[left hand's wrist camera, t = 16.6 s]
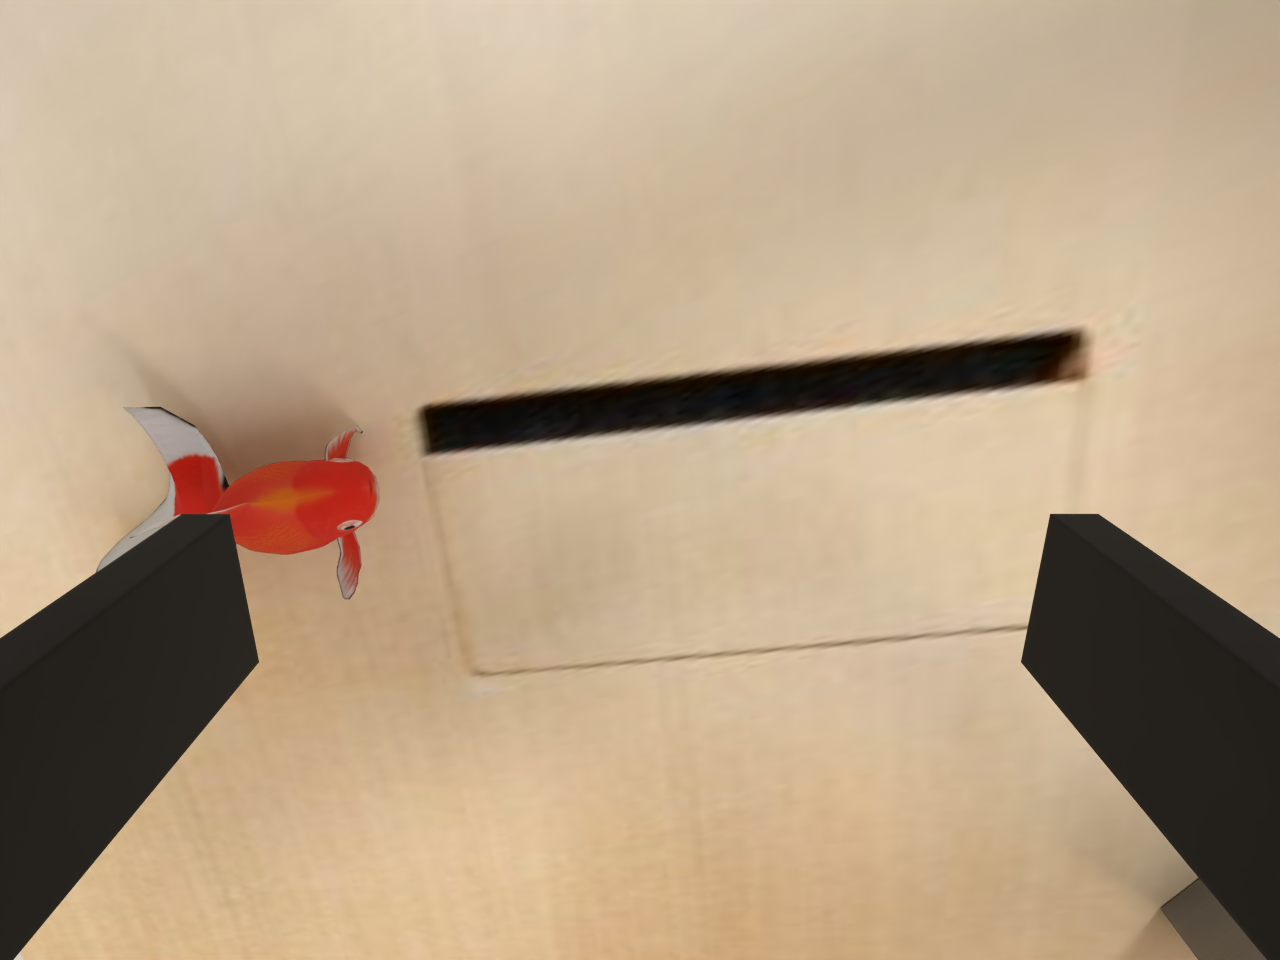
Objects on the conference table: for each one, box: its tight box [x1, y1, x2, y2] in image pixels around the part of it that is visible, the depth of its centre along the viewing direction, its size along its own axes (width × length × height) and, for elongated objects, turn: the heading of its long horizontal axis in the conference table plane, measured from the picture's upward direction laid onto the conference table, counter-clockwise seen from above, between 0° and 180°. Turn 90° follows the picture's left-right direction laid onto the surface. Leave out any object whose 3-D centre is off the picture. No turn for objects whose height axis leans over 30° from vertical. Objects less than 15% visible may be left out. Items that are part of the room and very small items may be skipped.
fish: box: [96, 407, 380, 599], centre depth 35 cm, size 11×16×10 cm
